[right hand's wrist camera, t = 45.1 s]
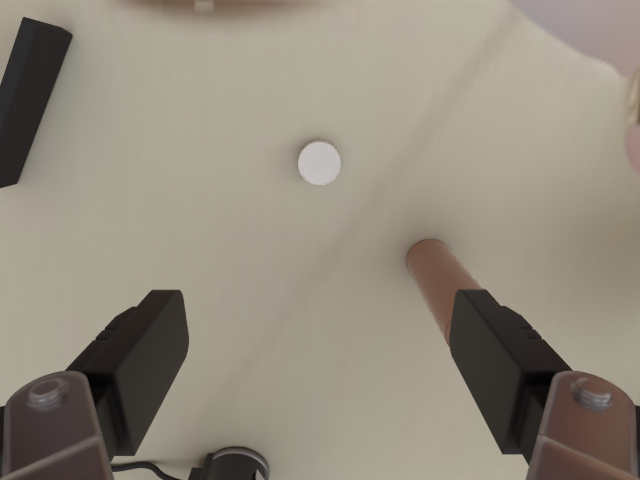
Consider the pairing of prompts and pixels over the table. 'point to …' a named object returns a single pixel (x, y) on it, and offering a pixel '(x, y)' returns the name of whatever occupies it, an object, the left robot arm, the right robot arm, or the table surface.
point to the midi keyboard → (27, 91)
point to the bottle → (438, 279)
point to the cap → (319, 162)
